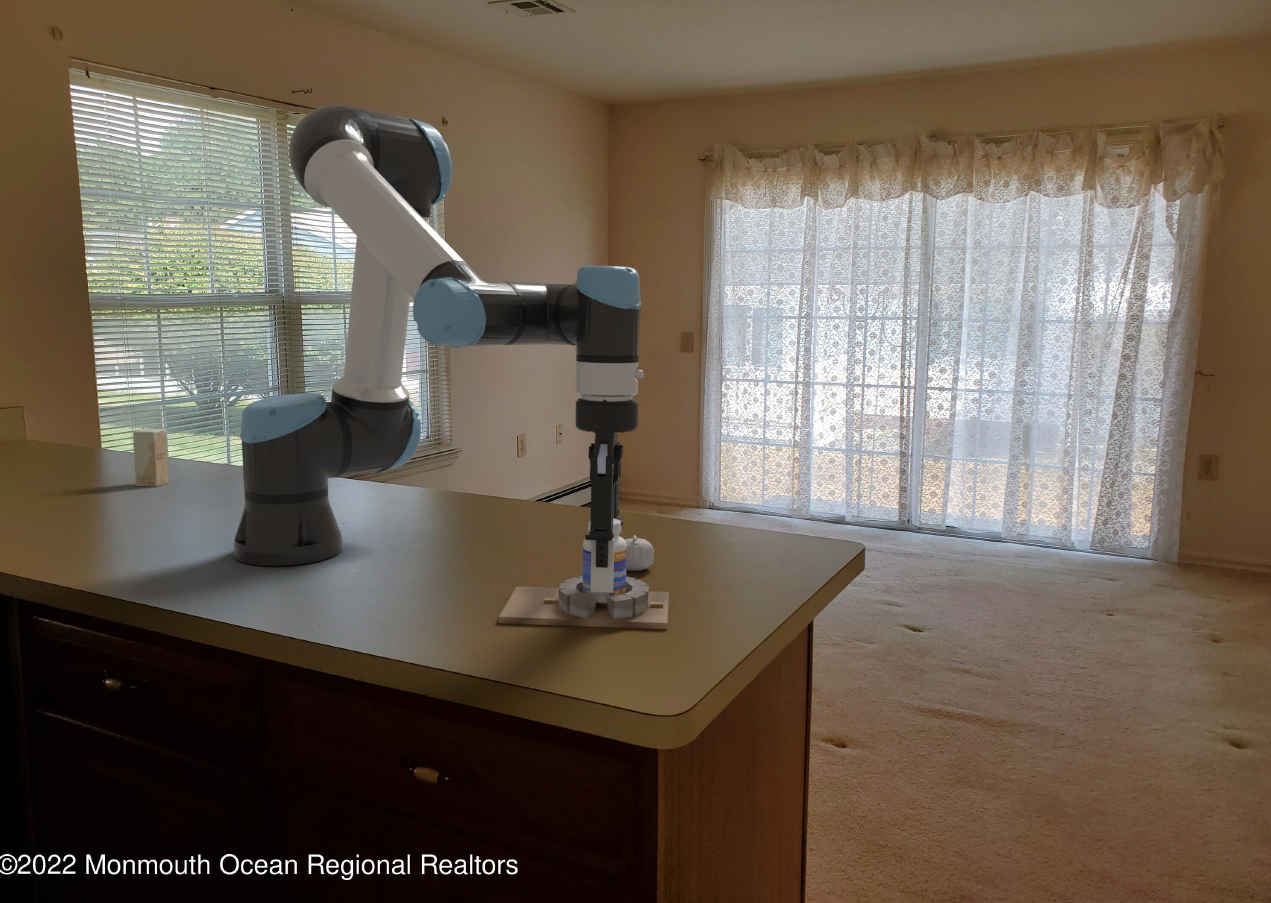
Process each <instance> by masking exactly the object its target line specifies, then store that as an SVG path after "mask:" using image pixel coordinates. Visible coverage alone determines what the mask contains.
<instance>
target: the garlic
mask: <svg viewBox="0 0 1271 903" xmlns="http://www.w3.org/2000/svg"><path fill="white" fill-rule="evenodd" d="M624 540H625V541H626V571H629V572H640V571H643V570H646V569H648V568H649V567H650V566H651V565H652V564H653V563H654V562H655V561H654V560H655V549H654V547H653V544H652V543H650V542H649V540H647V539H645V538H639V537H637V536H636V534H634V535H633V536H632V538H625V539H624Z"/></svg>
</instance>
